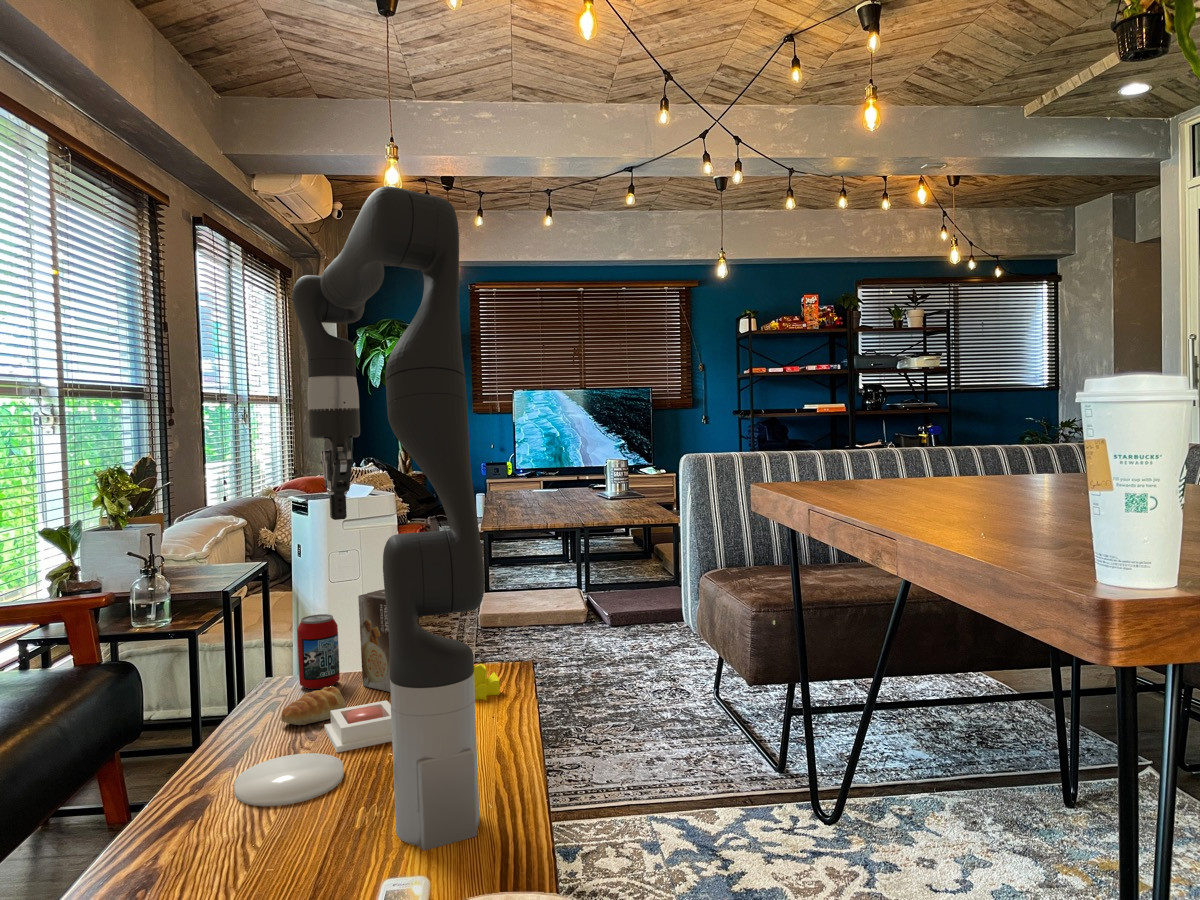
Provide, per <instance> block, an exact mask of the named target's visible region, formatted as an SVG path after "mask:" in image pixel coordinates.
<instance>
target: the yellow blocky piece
mask: <svg viewBox="0 0 1200 900" xmlns="http://www.w3.org/2000/svg"><path fill="white" fill-rule="evenodd" d="M487 673H488V672H487V667H486V666H485V664H483V663H479V664H477V665H474V687H475V701H476V700H484V701H486V700H487V696H497V695H498V696H499V695H500V692H501V691H500V690H501V689H500V688H501V687H500V678H499V677H498V676H497V674H496V673H495V671H493V672H492V673H491V674H490V675H489V676H488V677H487V675H488V674H487Z"/></svg>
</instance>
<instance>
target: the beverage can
mask: <svg viewBox="0 0 1200 900" xmlns="http://www.w3.org/2000/svg"><path fill="white" fill-rule="evenodd" d="M296 629H297V630H296V632H297V634H296V635H297V658H298V660H297V661H298V677H299V678H298V680H299V685H300V686H301V687H303V688H305V689H306V688H308V689H307V690H309V689H320V690H322V689H323V688H324V687H330V686H333V687H334V685H335V684H336V683H338V682H339V681H340V676H341V675H340V673H341V672H340V651H339V650H340V649H339V648H340V647H339V628H338V624H337V622H336V620H335V618H334V616H333V615H332V614H329V613H328V614H327V613H326V614H325V613H323V614H322V613H320V614H319V613H318V614H311V615H307V616H304V617H302V618H300V622H299V625H298V626H297V628H296Z"/></svg>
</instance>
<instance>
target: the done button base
mask: <svg viewBox="0 0 1200 900" xmlns="http://www.w3.org/2000/svg"><path fill="white" fill-rule="evenodd" d="M364 707H378V708H381V709H382V711H383V717H382V718H377V719H371V720H366V721H361V722H356V723H351V724H348V722H347V714H348V713H349V712H350V711H352V710H355V709H358V708H364ZM330 715H331V718H330V723H326V724H323V725H324V731H326V732H325V733H326V735H327V737H328V739H329V741H330V743H331V744H332V746H333V748H334V749H335V751H336V753H337V754H338V753H343V752H346V751H351V750H356V749H361V748H365V747H371V746H376V745H381V744H385V743H390V742H391V743H392V722H391V702H389V701H388V700H382V701H381V700H380V701H376V702H375V701H374V702H371V703H365V704H360V705H359V704H358V705H353V706H347V707H346V708H342V709H337V710H331V711H330Z"/></svg>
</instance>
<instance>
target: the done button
mask: <svg viewBox="0 0 1200 900" xmlns="http://www.w3.org/2000/svg"><path fill="white" fill-rule="evenodd" d="M382 717H383V711H382V709H381V708H378V707H364V708H358V709H355V710H352V711H350V712H349V713H348V714H347V722H348V724H351V723H356V722H361V721H366V720H371V719H377V718H382Z"/></svg>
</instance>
